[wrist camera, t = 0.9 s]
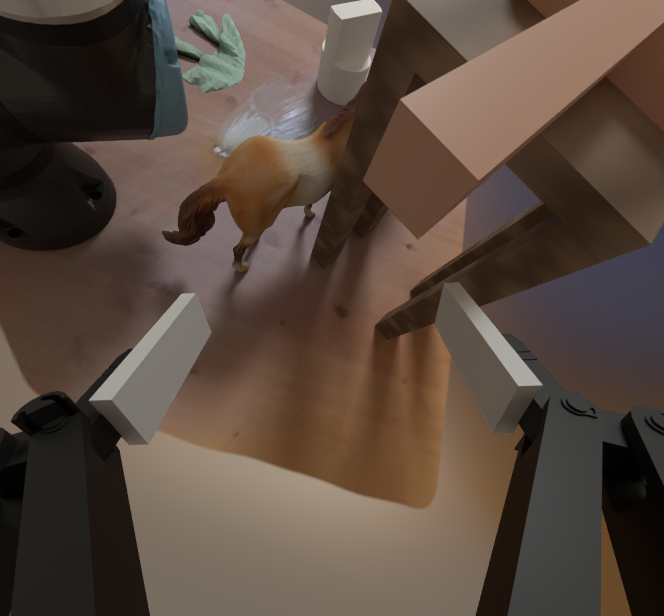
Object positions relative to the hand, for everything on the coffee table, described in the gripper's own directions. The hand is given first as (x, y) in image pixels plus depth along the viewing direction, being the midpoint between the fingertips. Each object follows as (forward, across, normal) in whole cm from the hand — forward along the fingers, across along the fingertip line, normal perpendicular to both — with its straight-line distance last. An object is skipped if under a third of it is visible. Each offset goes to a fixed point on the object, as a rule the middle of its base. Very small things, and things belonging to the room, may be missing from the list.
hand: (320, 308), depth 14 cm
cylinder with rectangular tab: (+57, +3, +14) cm, 59 cm away
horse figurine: (+31, -8, -4) cm, 32 cm away
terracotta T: (+5, +11, +9) cm, 15 cm away
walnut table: (+27, +7, -12) cm, 30 cm away
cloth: (+56, -22, +21) cm, 64 cm away
